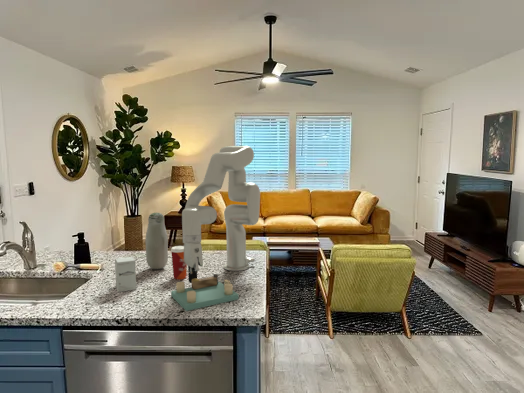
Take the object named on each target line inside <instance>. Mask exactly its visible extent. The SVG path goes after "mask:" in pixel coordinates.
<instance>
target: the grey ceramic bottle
mask: <svg viewBox="0 0 524 393" xmlns="http://www.w3.org/2000/svg"><path fill="white" fill-rule="evenodd" d="M147 220H148V221H147V222H148V224H147V230H146V232H145V233H146V234H145V239H144V240H145V242H144V243H145V258H146V263H147V265H148V267H149V268H150V269H152V270H162V269H164V268H165V267H166V266H167V264H168V259H169V252H168V251H169V249H168V247H169V245H168V244H169V243H168V242H169V241H168V240H169V239H168V238H169V237H168V232H167V229H166V225H165V216H164V214H163V213H161V212H153V213H150V214H149V215H148V218H147Z"/></svg>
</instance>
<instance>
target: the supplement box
mask: <svg viewBox="0 0 524 393" xmlns="http://www.w3.org/2000/svg"><path fill="white" fill-rule="evenodd" d="M114 268H115V272H114V274H115V288H116V290H117V293H121V292H127V291H133V290H134V291H136V290H137V273H136V271H137V270H136V269H137V268H136V259H135V258H134V256H126V257H117V258H116V257H115V258H114Z"/></svg>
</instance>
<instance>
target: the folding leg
mask: <svg viewBox="0 0 524 393" xmlns="http://www.w3.org/2000/svg"><path fill="white" fill-rule="evenodd" d="M218 282H219V274H218V273H213V275H212V276H209V277H202V278H198V277H197V278H195V279H192V283H191V287H192V288H193V289H199V288H204V287H209V286H214V285H217V284H218Z"/></svg>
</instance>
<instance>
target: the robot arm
mask: <svg viewBox="0 0 524 393" xmlns="http://www.w3.org/2000/svg"><path fill="white" fill-rule="evenodd" d="M254 158H255V153H254V150H253V148H252V147H251V146H248V145H229V146H228V145H227V146H223V147H221V149H220V150H219V152H216V153H214V154H212V156H211V157H210V159H209V163H208V166H207V169H206V172H205V175H204V178H203V181H202V182H201V183H200V184H199V185H198V186H197V187H196V188H195V189H194V190H193V191H191V193H190V195H189V196H188V198H187V201H186V203H185V205H184V206H185V207H184V209H182V212H181V225H182V226H181V227H182V229H181V230H182V244H183V246H184V262H185V263H186V264H187V272H188V274H187V275H188V276H187V277H188V283H190V284H192V279H195V278H197V279H198V272H199V270H200V268H199V267H203V264H204V262H203V260H204V259H203V250H202V249H203V248H202V225H211V224H212V223H214V222H215V221H216V220H217V217H218V213H217V210H216V209H215V208H214V207H213V206H210V205H209V206H208V205H200V203H201V202H202V200H203V199H205V198H206V197H208V196H209V195H212V194H214V193H216V192H218V191H220V190H221V189H222V187H223V184H224V180H225V177H226V174H228V182H227V183H228V184H227V185H228V186H227V187H228V188H227V195H228V199H229V200H230V201H232V202H237V204H234V203H233V204H229V205H227V206H225V209H224V210H223V211H224V212H223V218H224V222H225V227H226V234H225V235H226V263H225V264H223V269H224V270H227V271H232V272H241V271H245V270H248V269H249V268H250V263H254V262H255V260H256V259H255V257H247V242H246V241H247V238H246V236H247V232H246V228H245V227H244V226H245V225H246V226H254V225H257V223H258V222H259V219H260V209H261V208H260V206H261V191H260V187H259V186H258V184H256V183H254V182H247V172H246V169H245V168H246V167H247V166H249V165H250V164H251V163H252V162H253V160H254ZM239 203H246V204H239Z"/></svg>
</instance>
